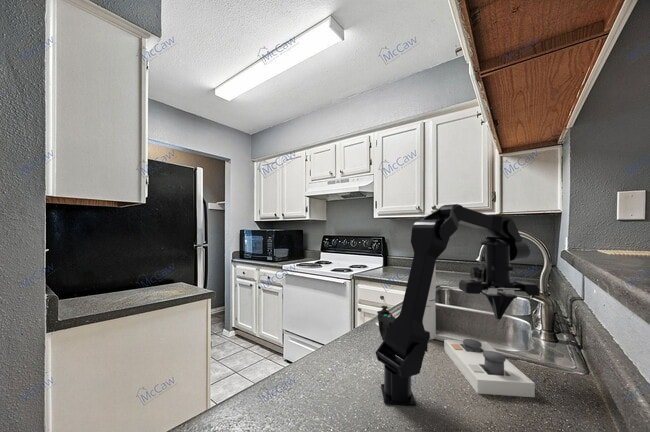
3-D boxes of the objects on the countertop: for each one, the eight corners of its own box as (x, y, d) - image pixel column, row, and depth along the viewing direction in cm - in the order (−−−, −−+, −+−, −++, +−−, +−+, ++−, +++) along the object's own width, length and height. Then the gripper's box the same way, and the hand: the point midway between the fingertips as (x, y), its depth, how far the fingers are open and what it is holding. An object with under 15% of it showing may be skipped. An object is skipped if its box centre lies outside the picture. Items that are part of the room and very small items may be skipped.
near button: (509, 380, 64) (509, 360, 64) (488, 378, 64) (488, 358, 65) (499, 369, 69) (499, 351, 69) (479, 368, 69) (479, 350, 69)
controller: (387, 333, 97) (387, 303, 97) (402, 348, 85) (402, 315, 85) (375, 333, 96) (375, 304, 97) (388, 349, 84) (388, 315, 84)
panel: (534, 397, 61) (534, 382, 61) (477, 393, 62) (477, 378, 62) (485, 352, 83) (485, 341, 83) (444, 349, 84) (444, 339, 84)
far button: (484, 362, 76) (484, 346, 76) (467, 361, 76) (467, 345, 77) (477, 355, 81) (477, 339, 81) (460, 354, 81) (460, 338, 81)
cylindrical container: (440, 337, 93) (440, 262, 94) (423, 340, 91) (423, 263, 91) (425, 330, 100) (425, 260, 101) (408, 332, 97) (409, 260, 98)
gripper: (516, 259, 84) (516, 311, 84) (451, 257, 86) (452, 309, 85) (541, 264, 73) (542, 324, 72) (467, 262, 75) (467, 321, 74)
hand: (498, 319), depth 76 cm, fingers closed
